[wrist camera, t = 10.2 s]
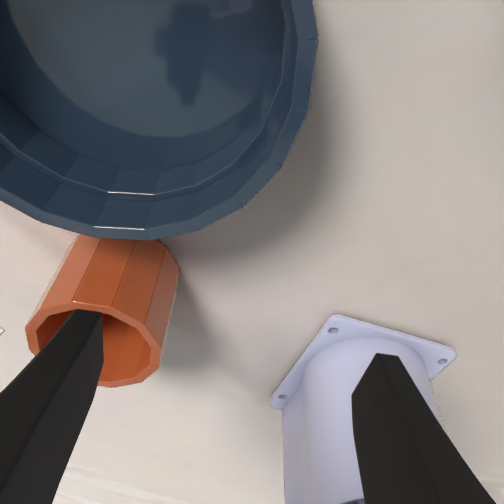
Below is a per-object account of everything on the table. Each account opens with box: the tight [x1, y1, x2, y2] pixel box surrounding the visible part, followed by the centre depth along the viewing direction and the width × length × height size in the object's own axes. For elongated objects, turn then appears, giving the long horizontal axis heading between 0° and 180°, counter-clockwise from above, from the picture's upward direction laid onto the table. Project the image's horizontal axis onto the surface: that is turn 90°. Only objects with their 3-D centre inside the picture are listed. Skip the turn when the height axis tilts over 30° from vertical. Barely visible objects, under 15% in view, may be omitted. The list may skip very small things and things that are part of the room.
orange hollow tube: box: [25, 234, 180, 388], centre depth 21 cm, size 6×6×5 cm
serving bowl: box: [0, 0, 318, 241], centre depth 14 cm, size 12×12×4 cm
